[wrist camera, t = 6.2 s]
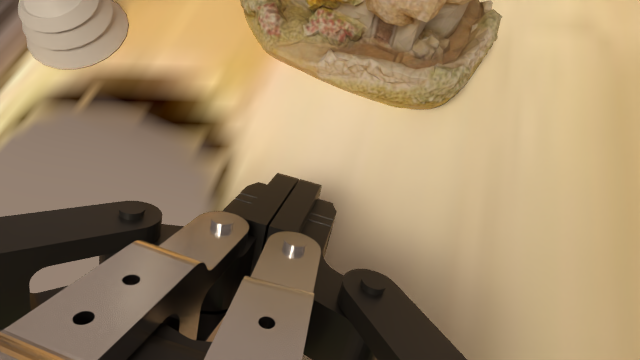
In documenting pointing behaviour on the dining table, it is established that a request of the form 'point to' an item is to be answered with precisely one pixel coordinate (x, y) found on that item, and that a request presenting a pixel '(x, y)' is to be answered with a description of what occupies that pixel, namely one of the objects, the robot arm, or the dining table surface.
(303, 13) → the ceramic model
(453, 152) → the dining table surface
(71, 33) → the chalice
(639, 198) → the dining table surface
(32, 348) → the robot arm
